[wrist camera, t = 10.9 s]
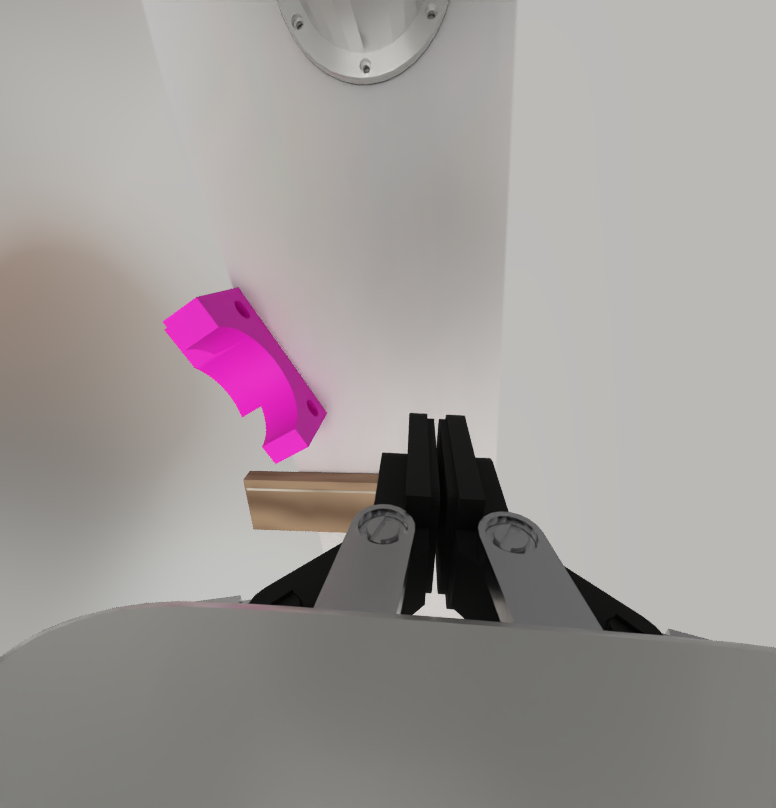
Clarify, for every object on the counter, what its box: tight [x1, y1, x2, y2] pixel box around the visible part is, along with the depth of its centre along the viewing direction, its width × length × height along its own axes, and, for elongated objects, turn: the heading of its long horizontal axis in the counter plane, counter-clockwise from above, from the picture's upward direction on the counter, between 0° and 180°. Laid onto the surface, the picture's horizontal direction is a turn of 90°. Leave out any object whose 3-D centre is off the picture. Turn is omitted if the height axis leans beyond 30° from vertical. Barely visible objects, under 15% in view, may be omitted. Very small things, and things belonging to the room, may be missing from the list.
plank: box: [244, 471, 379, 533], centre depth 44 cm, size 7×18×2 cm, turn 91°
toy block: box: [163, 288, 327, 463], centre depth 36 cm, size 15×6×8 cm, turn 31°
